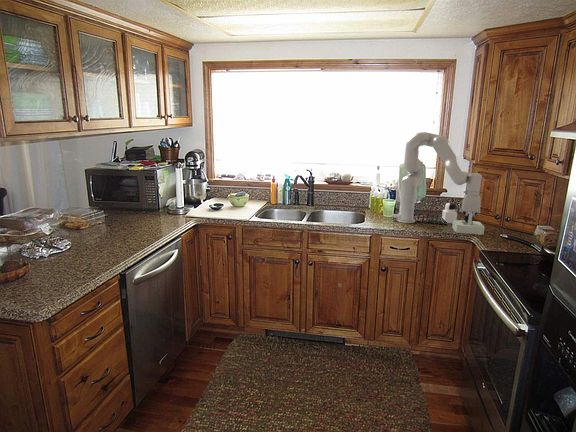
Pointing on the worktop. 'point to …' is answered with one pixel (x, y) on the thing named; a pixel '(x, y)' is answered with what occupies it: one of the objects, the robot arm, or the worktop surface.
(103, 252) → the worktop surface
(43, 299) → the worktop surface
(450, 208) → the container
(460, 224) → the well block
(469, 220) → the bracket
